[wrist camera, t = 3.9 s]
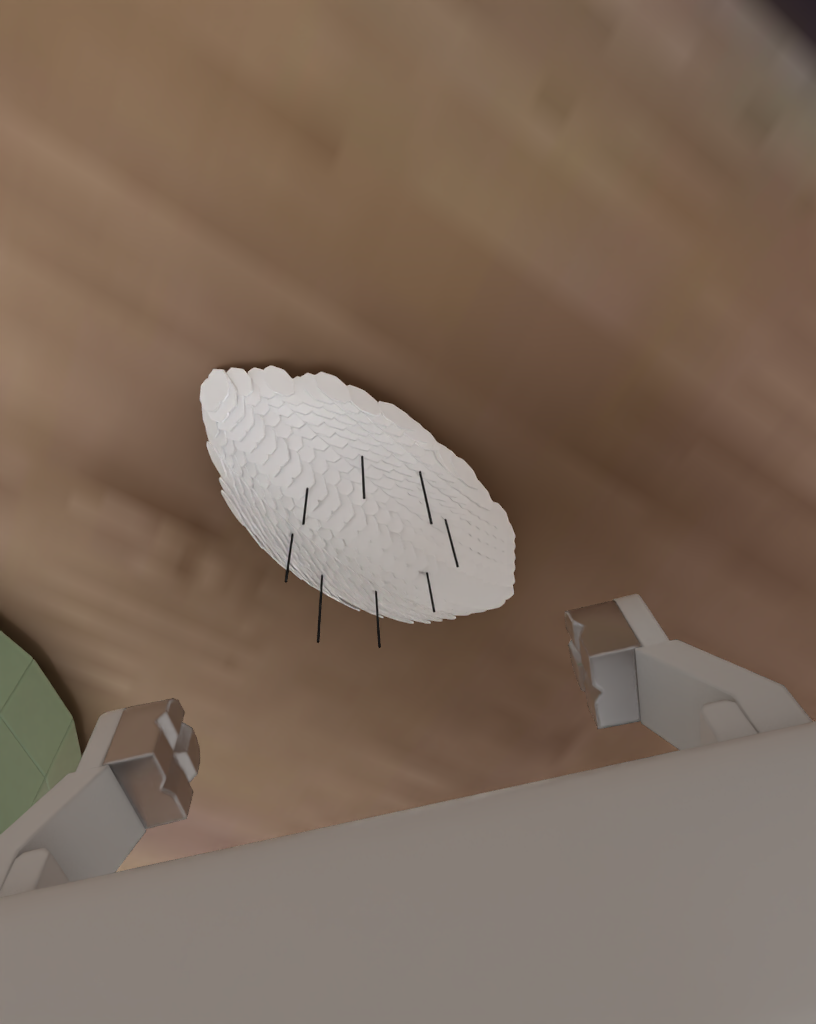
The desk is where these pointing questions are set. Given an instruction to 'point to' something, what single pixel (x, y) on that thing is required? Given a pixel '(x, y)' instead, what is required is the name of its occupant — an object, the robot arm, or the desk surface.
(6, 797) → the bowl
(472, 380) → the desk surface
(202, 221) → the desk surface
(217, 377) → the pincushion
